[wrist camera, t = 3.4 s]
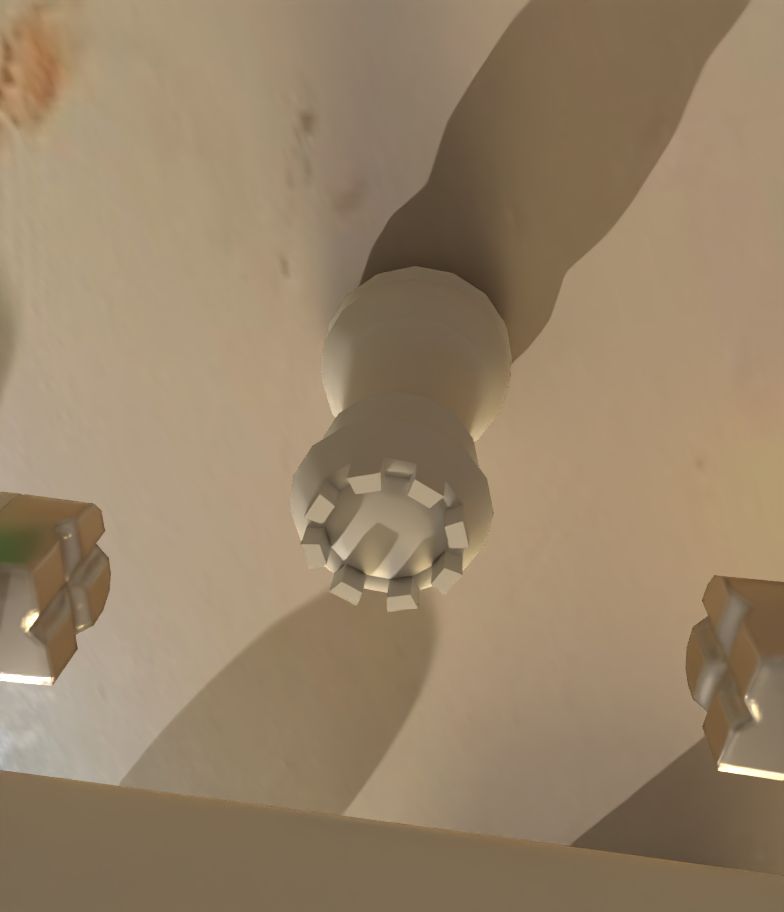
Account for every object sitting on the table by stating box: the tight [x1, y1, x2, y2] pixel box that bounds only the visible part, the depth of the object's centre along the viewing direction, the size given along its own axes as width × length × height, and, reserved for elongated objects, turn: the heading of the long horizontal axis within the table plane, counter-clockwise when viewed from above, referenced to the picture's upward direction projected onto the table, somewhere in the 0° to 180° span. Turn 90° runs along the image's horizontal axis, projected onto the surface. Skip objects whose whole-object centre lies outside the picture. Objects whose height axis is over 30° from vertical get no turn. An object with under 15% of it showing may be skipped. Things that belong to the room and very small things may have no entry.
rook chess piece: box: [290, 266, 512, 612], centre depth 14 cm, size 4×4×8 cm
